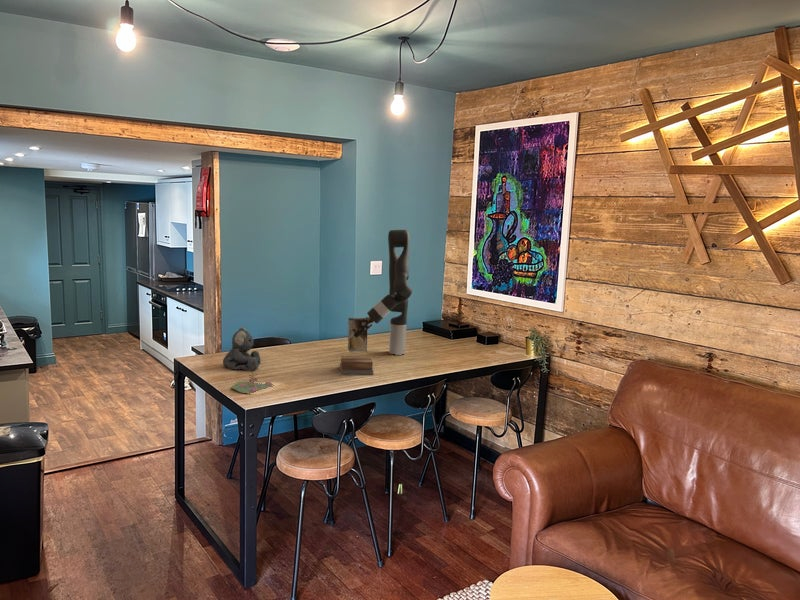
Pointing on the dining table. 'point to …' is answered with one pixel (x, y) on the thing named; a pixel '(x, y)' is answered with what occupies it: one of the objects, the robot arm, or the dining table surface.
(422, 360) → the dining table surface
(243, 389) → the plant
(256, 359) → the koala plush
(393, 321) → the robot arm
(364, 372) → the baseplate
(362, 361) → the walnut brick
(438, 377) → the dining table surface
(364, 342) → the coffee box
